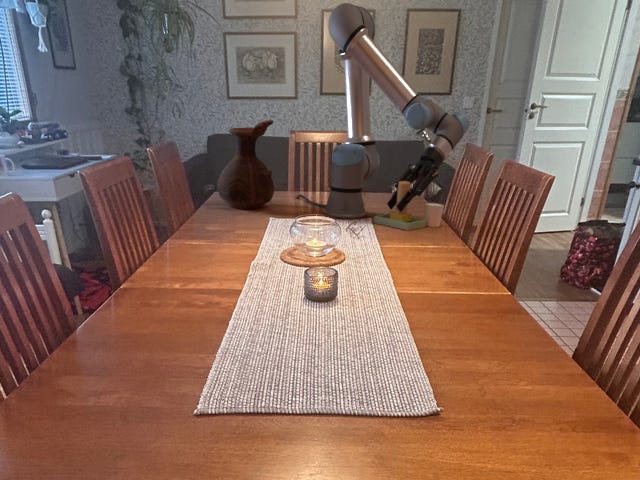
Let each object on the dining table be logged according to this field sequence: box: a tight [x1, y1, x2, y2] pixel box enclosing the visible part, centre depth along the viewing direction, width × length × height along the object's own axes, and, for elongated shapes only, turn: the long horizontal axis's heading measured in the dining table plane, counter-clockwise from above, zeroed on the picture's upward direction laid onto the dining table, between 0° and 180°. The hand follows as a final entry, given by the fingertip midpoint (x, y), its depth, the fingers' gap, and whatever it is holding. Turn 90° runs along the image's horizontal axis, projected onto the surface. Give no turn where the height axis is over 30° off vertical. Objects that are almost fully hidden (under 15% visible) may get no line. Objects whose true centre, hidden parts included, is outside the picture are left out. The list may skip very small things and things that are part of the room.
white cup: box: [423, 202, 445, 228], centre depth 210 cm, size 7×7×7 cm
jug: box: [216, 119, 276, 210], centre depth 222 cm, size 22×22×30 cm
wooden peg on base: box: [389, 181, 413, 222], centre depth 208 cm, size 6×5×12 cm
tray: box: [373, 213, 427, 231], centre depth 210 cm, size 15×10×2 cm
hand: (394, 207), depth 207 cm, fingers open, 4 cm apart
